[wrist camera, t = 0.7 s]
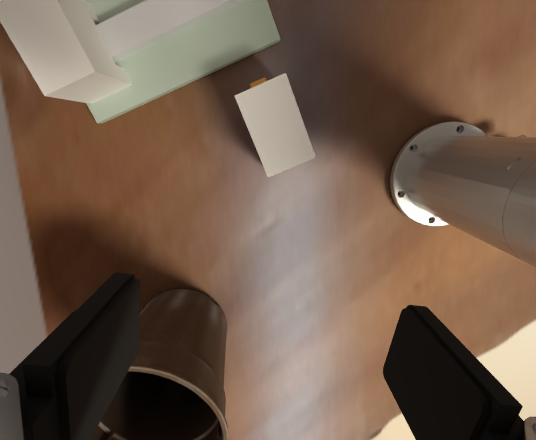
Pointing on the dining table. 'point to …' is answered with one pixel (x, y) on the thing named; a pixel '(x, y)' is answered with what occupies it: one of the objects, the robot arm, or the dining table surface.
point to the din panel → (186, 53)
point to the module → (275, 124)
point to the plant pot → (173, 374)
